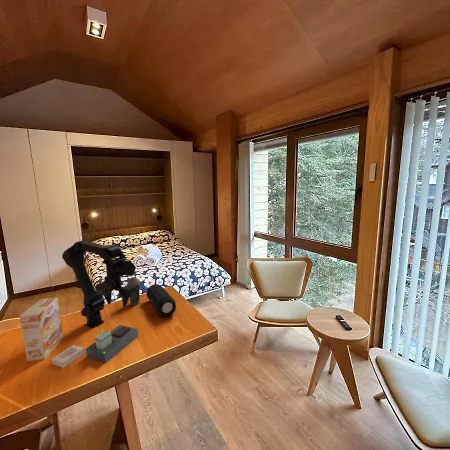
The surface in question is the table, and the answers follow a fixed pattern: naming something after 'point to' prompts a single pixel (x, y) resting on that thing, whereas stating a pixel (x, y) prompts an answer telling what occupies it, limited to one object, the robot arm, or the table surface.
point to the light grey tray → (68, 356)
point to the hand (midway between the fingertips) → (116, 305)
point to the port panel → (113, 343)
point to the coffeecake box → (41, 328)
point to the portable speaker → (161, 300)
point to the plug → (103, 340)
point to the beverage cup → (135, 295)
